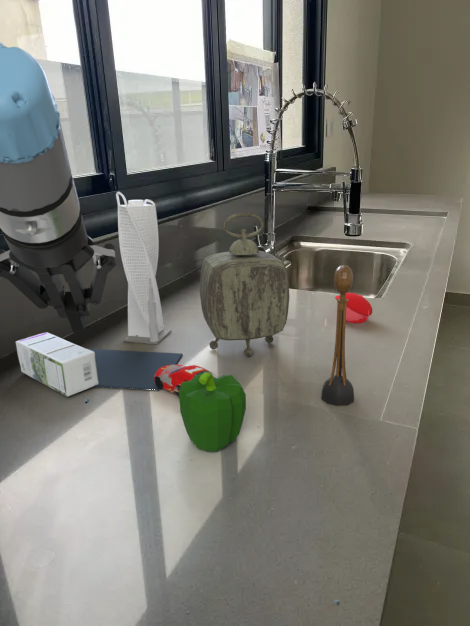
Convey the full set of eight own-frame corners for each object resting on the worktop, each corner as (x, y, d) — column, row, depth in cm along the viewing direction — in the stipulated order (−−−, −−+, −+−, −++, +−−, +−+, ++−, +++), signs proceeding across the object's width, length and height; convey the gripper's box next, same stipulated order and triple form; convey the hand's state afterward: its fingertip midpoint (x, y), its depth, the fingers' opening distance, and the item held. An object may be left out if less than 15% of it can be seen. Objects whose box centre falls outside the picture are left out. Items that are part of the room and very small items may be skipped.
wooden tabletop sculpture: (322, 386, 77) (327, 259, 70) (353, 388, 76) (361, 259, 69) (320, 404, 71) (326, 268, 65) (354, 407, 70) (362, 269, 64)
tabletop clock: (275, 339, 96) (277, 208, 88) (291, 357, 88) (295, 214, 80) (202, 347, 93) (196, 211, 85) (211, 366, 84) (206, 218, 76)
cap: (372, 317, 107) (374, 291, 105) (370, 327, 102) (372, 298, 100) (335, 314, 110) (336, 288, 108) (331, 323, 104) (332, 295, 102)
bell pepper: (210, 416, 69) (207, 349, 65) (258, 436, 64) (257, 365, 60) (165, 443, 62) (160, 371, 59) (214, 468, 57) (211, 390, 54)
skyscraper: (117, 340, 97) (102, 193, 88) (136, 327, 104) (124, 189, 95) (157, 344, 94) (146, 193, 86) (173, 330, 102) (165, 189, 93)
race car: (148, 384, 77) (146, 360, 76) (174, 373, 81) (174, 350, 80) (206, 414, 69) (206, 388, 68) (233, 400, 73) (233, 376, 71)
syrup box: (95, 350, 76) (47, 330, 85) (60, 363, 72) (14, 340, 81) (99, 384, 78) (52, 361, 87) (65, 398, 73) (19, 372, 83)
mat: (49, 384, 79) (49, 382, 79) (88, 350, 92) (88, 348, 92) (158, 391, 76) (158, 388, 76) (182, 355, 89) (182, 353, 89)
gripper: (-39, 251, 44) (27, 353, 65) (111, 244, 46) (129, 344, 67) (-31, 186, 47) (30, 302, 68) (109, 182, 50) (126, 296, 70)
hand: (79, 323), depth 68 cm, fingers closed
